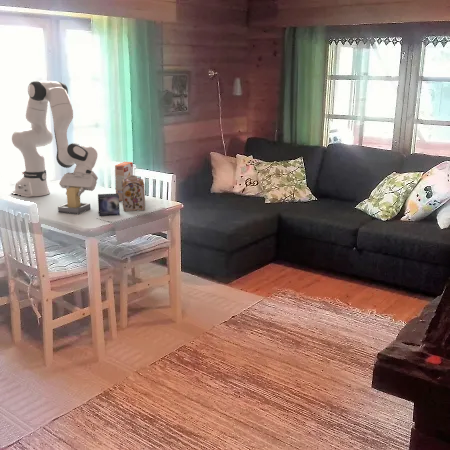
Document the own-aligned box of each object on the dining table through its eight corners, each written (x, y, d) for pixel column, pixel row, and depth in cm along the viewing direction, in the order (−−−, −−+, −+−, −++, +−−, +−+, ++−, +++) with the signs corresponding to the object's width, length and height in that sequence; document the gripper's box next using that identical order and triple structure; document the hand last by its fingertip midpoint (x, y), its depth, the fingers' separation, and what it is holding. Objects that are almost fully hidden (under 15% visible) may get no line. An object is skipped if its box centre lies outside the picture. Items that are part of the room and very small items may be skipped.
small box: (99, 216, 279) (98, 196, 276) (98, 213, 285) (97, 194, 282) (120, 215, 282) (119, 195, 279) (118, 212, 288) (117, 193, 285)
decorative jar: (122, 206, 300) (121, 174, 295) (143, 205, 303) (142, 173, 298) (123, 211, 289) (122, 178, 284) (145, 210, 292) (144, 177, 287)
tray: (58, 212, 286) (57, 206, 285) (71, 207, 297) (70, 201, 296) (77, 214, 282) (77, 208, 282) (90, 209, 293) (90, 203, 292)
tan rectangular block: (67, 207, 288) (66, 188, 285) (72, 205, 292) (71, 187, 289) (75, 208, 286) (74, 189, 283) (80, 206, 290) (79, 187, 288)
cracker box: (125, 201, 310) (124, 165, 304) (115, 201, 311) (114, 165, 305) (134, 196, 323) (133, 161, 317) (124, 195, 324) (123, 161, 318)
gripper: (62, 169, 293) (53, 190, 287) (95, 171, 287) (86, 193, 281) (68, 175, 299) (58, 196, 292) (100, 178, 292) (91, 200, 286)
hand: (72, 195), depth 287 cm, fingers closed on tan rectangular block, 5 cm apart
